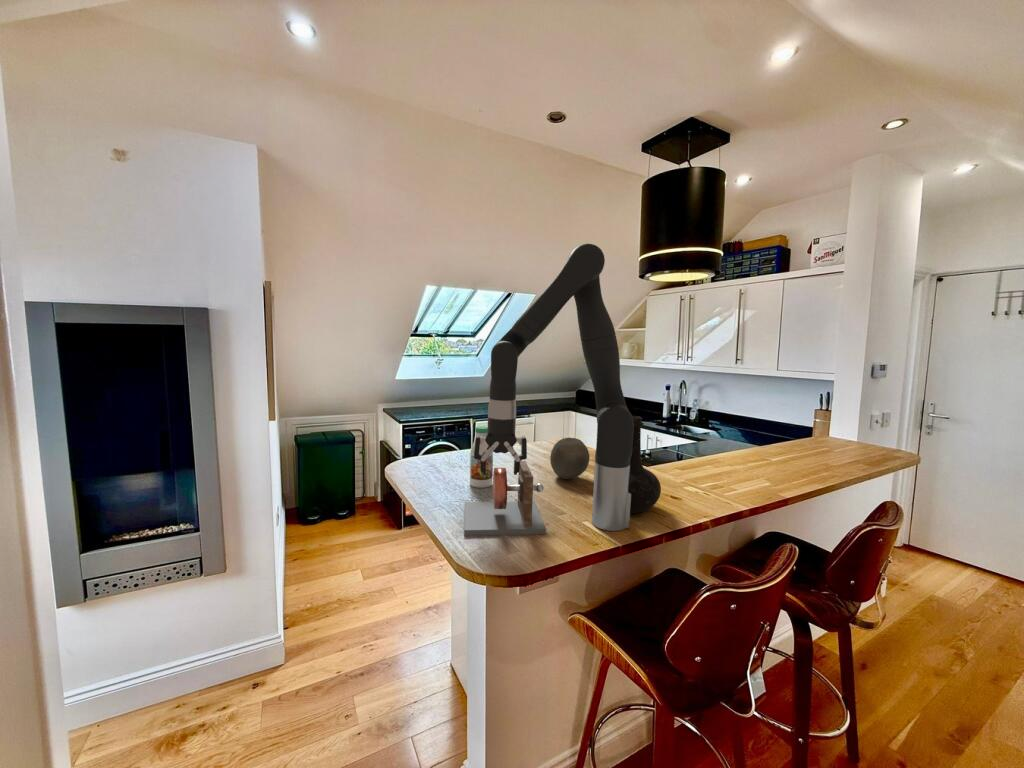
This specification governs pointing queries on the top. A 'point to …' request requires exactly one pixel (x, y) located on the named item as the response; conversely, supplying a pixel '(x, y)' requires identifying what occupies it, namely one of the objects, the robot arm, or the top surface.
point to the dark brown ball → (569, 458)
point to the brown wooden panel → (525, 493)
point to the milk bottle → (475, 474)
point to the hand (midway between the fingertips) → (499, 473)
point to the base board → (499, 520)
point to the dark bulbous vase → (641, 476)
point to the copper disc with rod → (505, 488)
